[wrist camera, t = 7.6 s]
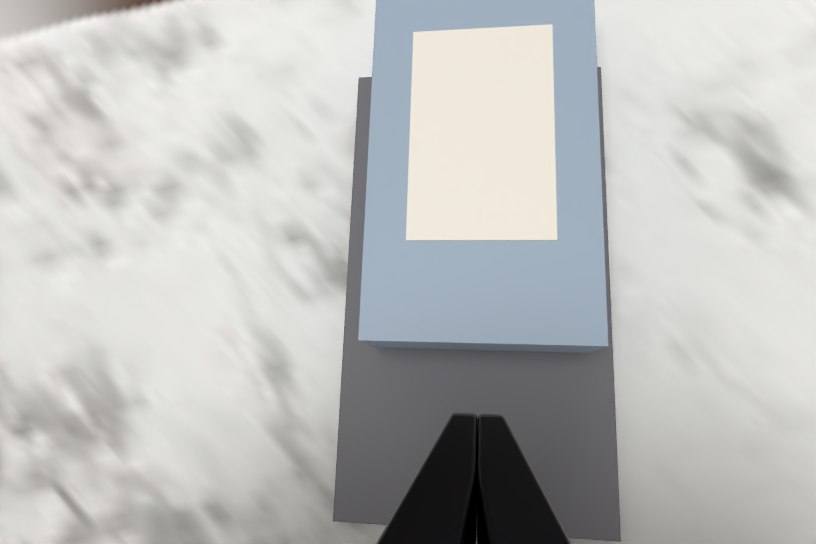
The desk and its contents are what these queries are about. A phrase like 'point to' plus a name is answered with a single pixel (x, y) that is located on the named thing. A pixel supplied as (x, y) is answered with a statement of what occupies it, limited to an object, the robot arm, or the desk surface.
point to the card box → (484, 178)
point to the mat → (471, 401)
